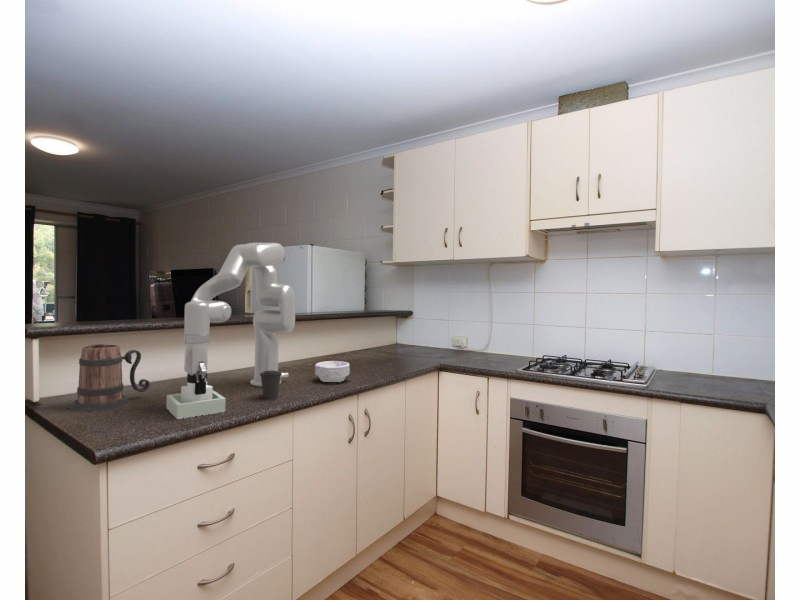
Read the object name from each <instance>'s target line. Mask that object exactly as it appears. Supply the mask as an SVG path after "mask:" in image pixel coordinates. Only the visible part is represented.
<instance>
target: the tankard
mask: <svg viewBox="0 0 800 600" xmlns="http://www.w3.org/2000/svg"><path fill="white" fill-rule="evenodd" d="M132 354H136V357H135V360H134V362H132ZM141 359H142V353H141V352H140V351H139V350H136V349H130V350H128V351H127V352H126V353H125V354H124V355H123V356H122V353H121V348H120V345H117V344H103V343H102V344H99V343H98V344H90V345H87V346H83V347H82V350H81V354H80V358H79V359H78V365H79V370H78V371H79V373H78V375H79V376H78V387H77V388H76V394H77V399H76V400H74V401H73V402H72V405H71V406H70V407H69V408H70V409H71V410H73V411H72V412H75V411H79V412H78V413H92V412H91V411H99V412H104V411H103V410H107V411H111V410H110V409H112V410H116V409H115V408H117V409H120V408H119V407H121V408H123V407H122V406H124V407H126V406H128V405H130V403H131V401H130V400H129V399H128V398H127V396H126V395H124V389H125V388H124V383H123V369H122V367H123V365H122V362H123V360H124V361H125V362H126V363H127V364H130V365H131V367H130V371H129V381H130V384H131V387H132V388H133V390H135V391H136V392H140V393H143V392H145V391H147V390H148V389H149V388H150V381H149V380H147V379H146V378H142V379H140V380H139V381H138V386H139V387H142V388H139V387H137V385H136V381H135V373H136V369H137V367H138V365H139V364H140V362H141ZM143 383H144V384H143ZM129 402H130V403H129ZM127 404H128V405H127ZM125 405H126V406H125ZM70 409H69V410H70ZM71 410H70V411H71ZM84 411H85V412H84ZM88 411H89V412H88Z"/></svg>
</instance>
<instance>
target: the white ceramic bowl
mask: <svg viewBox="0 0 800 600" xmlns="http://www.w3.org/2000/svg"><path fill="white" fill-rule="evenodd" d="M314 367H315V368H314V369H315V370H314V371H315V372H314V374H315V377H318V378H319V380H320V381H321V382H322V381H323V382H322V383H324V382H339V383H342V382H343V381H345V379H346V377H347V376H349V375H350V372H351V371H350V367H351V366H350V363H349V362H347V361H343V360H342V361H341V360H340V361H339V360H328V361H327V360H326V361H320V362H317V363H315V365H314ZM341 381H342V382H341Z"/></svg>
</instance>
